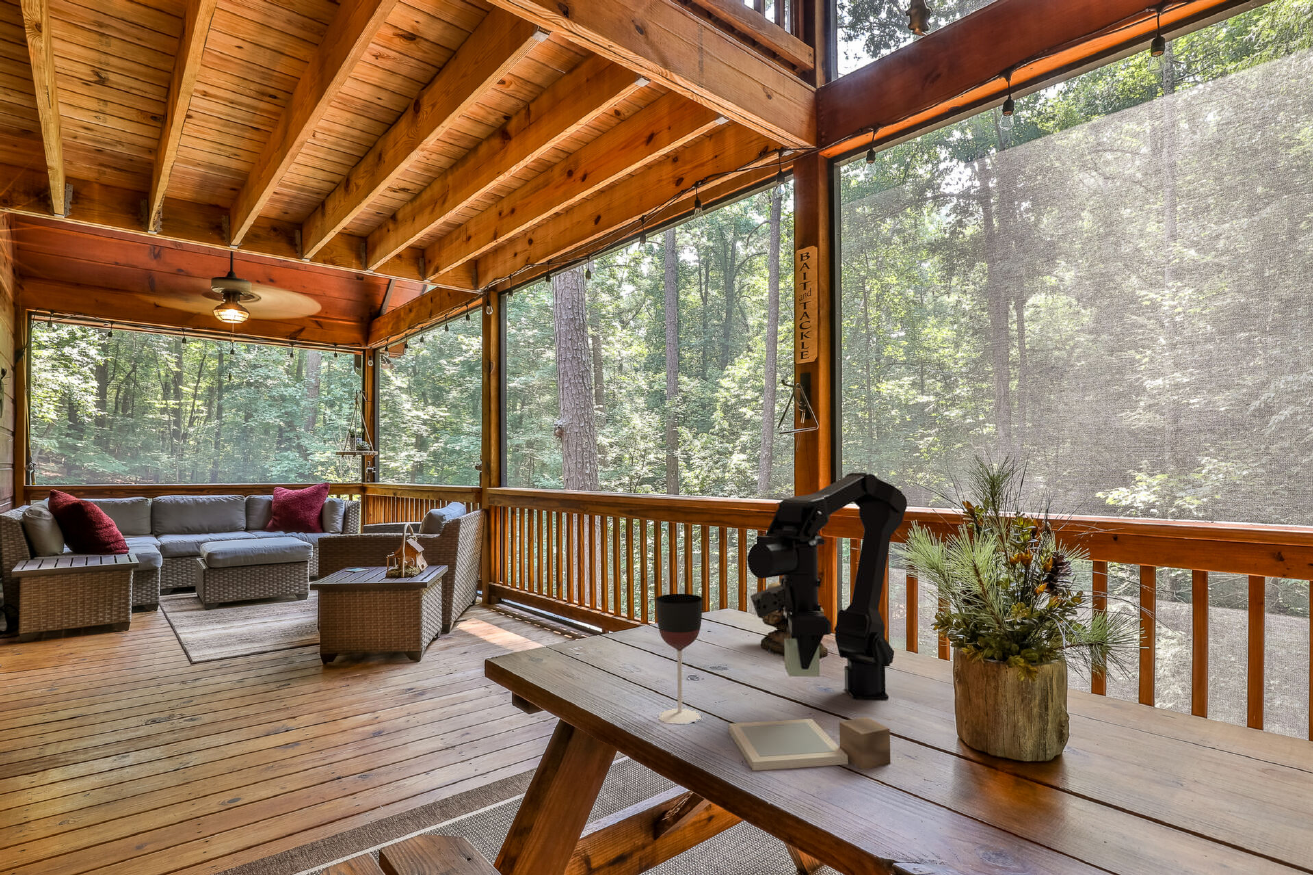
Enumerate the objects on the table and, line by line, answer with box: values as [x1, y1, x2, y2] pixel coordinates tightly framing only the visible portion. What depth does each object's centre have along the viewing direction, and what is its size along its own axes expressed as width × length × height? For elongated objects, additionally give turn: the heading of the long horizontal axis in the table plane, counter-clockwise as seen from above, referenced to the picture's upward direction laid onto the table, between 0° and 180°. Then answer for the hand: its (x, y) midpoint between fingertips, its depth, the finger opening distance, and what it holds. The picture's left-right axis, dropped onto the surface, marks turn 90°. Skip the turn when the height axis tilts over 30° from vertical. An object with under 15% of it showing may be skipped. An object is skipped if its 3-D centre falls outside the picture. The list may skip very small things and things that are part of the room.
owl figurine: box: [758, 581, 829, 659], centre depth 155 cm, size 18×12×17 cm, turn 45°
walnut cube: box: [838, 716, 892, 771], centre depth 97 cm, size 5×5×5 cm
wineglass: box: [655, 593, 703, 724], centre depth 114 cm, size 8×9×20 cm
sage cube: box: [784, 638, 821, 678], centre depth 113 cm, size 5×5×5 cm
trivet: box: [728, 718, 849, 772], centre depth 101 cm, size 14×14×1 cm
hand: (801, 664), depth 113 cm, fingers closed on sage cube, 5 cm apart
